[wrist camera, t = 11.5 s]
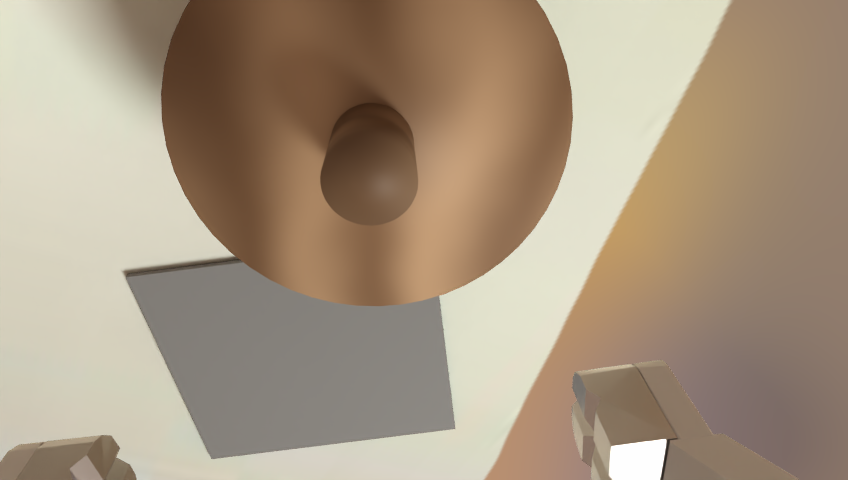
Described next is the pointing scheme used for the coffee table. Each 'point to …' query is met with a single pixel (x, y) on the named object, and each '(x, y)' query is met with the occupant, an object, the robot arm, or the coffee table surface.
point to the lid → (367, 137)
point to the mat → (293, 361)
